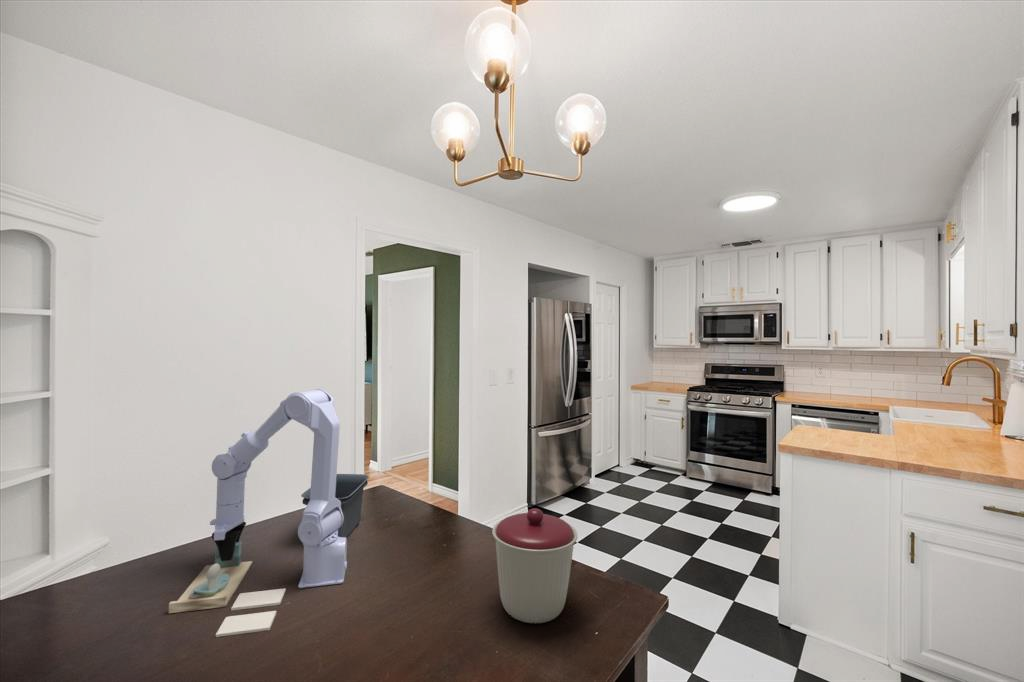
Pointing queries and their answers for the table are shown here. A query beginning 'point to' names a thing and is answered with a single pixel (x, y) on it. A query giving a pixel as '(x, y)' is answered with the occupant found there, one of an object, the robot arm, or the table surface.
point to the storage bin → (347, 499)
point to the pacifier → (211, 583)
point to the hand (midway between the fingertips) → (228, 557)
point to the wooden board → (224, 594)
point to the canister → (534, 564)
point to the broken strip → (251, 621)
